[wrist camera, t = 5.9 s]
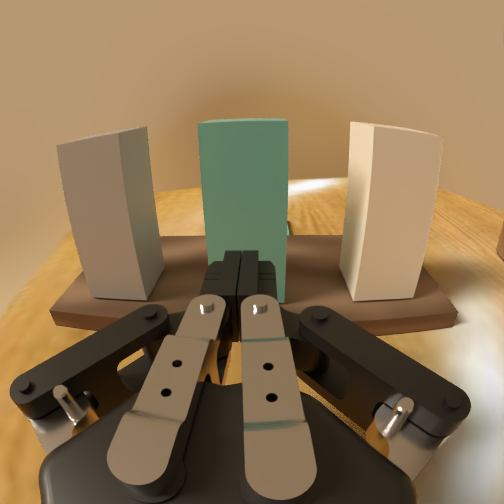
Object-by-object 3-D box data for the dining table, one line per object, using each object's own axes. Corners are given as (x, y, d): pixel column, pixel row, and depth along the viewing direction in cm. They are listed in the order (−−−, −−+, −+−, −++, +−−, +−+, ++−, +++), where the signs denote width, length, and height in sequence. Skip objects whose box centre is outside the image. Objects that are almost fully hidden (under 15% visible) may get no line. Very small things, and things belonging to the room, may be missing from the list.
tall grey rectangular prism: (146, 300, 21) (118, 133, 16) (91, 297, 21) (56, 145, 16) (164, 266, 26) (147, 126, 20) (115, 266, 26) (92, 135, 20)
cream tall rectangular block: (413, 297, 20) (443, 136, 15) (353, 301, 21) (374, 126, 15) (391, 265, 25) (409, 128, 19) (339, 266, 25) (350, 121, 20)
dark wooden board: (451, 326, 19) (458, 311, 19) (55, 324, 21) (49, 310, 20) (394, 247, 32) (396, 235, 31) (117, 249, 33) (114, 237, 32)
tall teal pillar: (284, 302, 21) (288, 120, 15) (212, 302, 21) (197, 123, 16) (280, 267, 25) (282, 118, 20) (221, 267, 25) (211, 119, 20)
